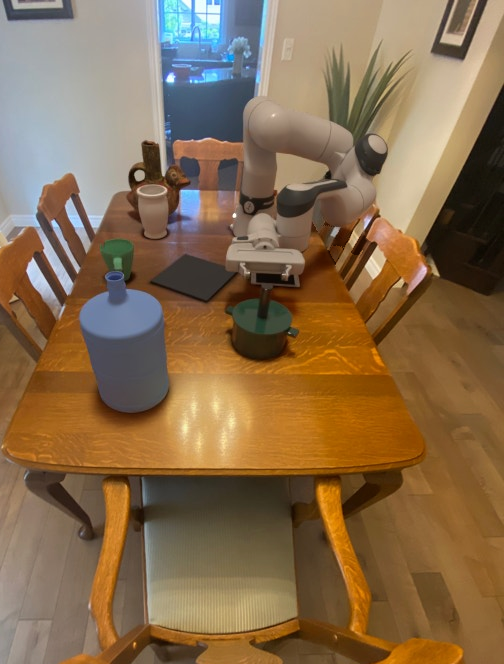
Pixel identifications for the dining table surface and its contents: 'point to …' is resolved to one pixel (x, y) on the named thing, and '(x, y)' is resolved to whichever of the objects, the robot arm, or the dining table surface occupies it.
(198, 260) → the mat
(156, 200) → the jar
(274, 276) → the smartphone
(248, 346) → the pot
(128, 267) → the mug
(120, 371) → the water jug
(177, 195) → the ceramic vessel
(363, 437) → the dining table surface
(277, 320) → the lid
